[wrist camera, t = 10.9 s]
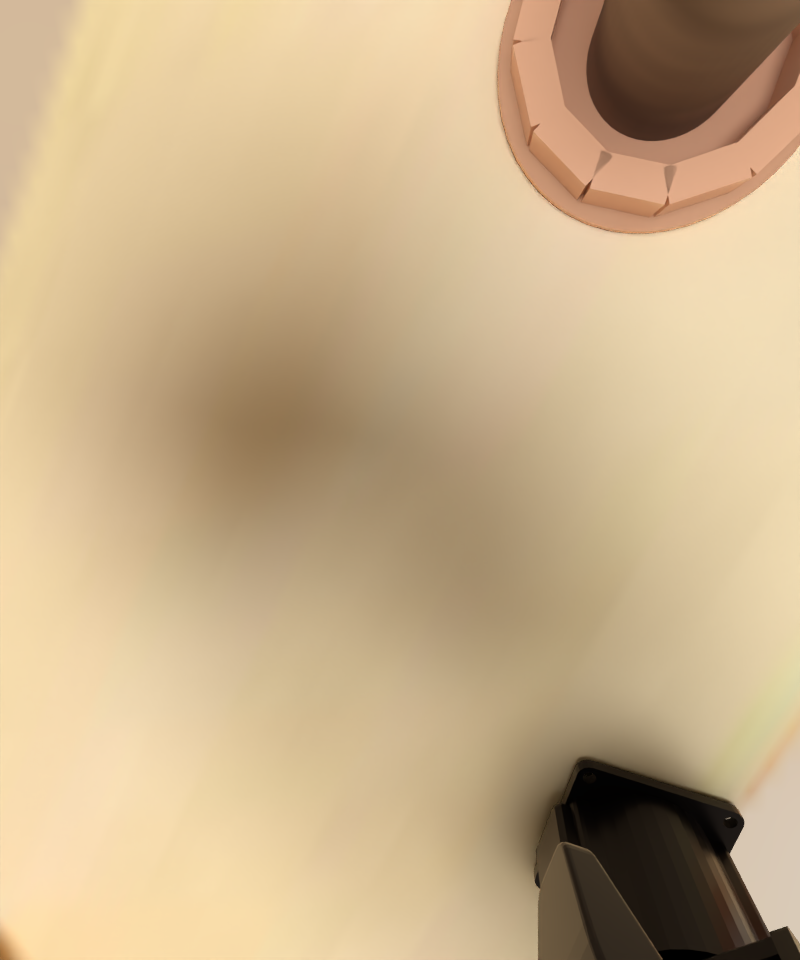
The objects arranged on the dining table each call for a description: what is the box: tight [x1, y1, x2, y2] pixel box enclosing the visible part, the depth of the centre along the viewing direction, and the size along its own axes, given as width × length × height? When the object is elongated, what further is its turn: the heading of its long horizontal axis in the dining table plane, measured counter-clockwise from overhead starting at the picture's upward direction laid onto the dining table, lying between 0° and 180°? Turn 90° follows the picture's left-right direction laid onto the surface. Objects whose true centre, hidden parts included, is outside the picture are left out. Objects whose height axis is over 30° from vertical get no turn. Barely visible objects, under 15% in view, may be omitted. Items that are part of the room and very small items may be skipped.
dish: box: [498, 0, 800, 233], centre depth 15 cm, size 10×10×2 cm
